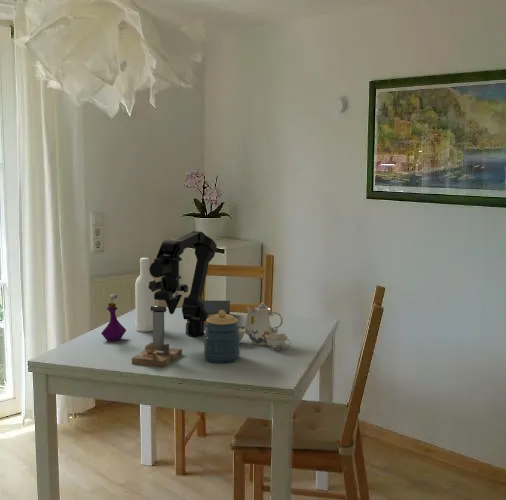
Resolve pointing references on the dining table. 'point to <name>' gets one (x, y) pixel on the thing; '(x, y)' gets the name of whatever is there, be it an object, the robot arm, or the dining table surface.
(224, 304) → the book
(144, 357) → the board
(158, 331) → the lever
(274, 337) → the chinaware
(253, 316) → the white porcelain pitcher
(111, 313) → the perfume bottle
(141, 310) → the bottle
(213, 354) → the canister
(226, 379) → the dining table surface
